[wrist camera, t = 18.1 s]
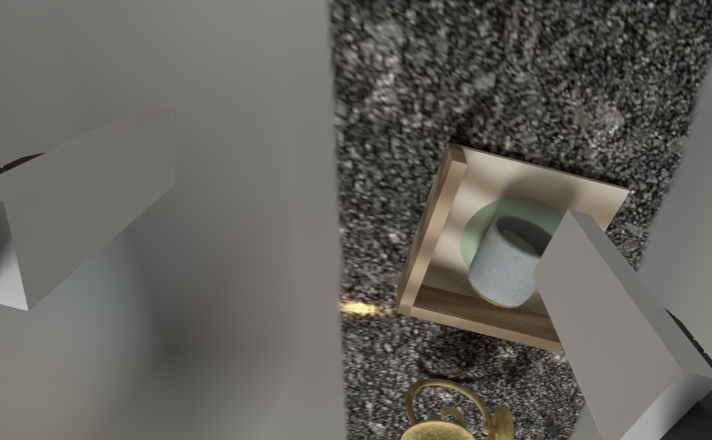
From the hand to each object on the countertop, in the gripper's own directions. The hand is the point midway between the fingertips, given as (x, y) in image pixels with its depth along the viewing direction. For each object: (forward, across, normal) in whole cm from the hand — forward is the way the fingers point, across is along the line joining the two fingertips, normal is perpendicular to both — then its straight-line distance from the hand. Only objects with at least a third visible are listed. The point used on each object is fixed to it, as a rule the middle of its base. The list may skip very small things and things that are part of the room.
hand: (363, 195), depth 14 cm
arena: (+32, +18, -17) cm, 40 cm away
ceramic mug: (+31, +20, -17) cm, 40 cm away
